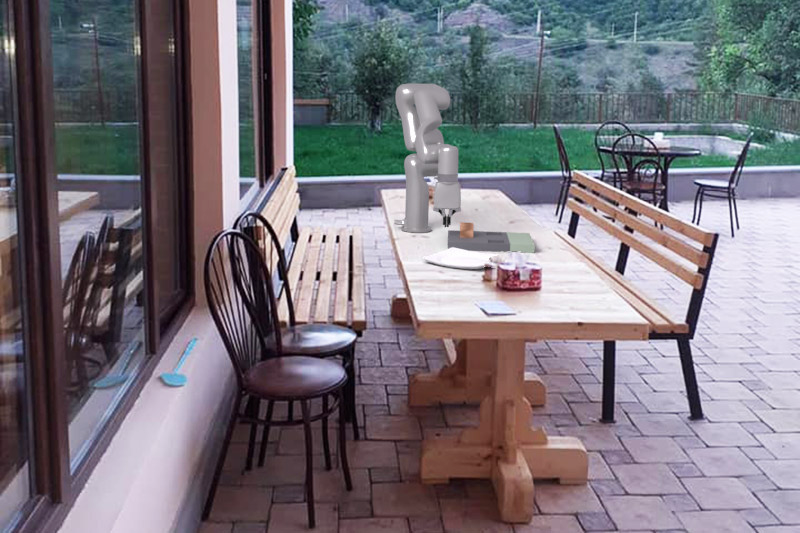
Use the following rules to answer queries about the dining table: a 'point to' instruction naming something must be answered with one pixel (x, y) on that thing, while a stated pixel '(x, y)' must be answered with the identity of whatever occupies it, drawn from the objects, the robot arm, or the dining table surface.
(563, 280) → the dining table surface
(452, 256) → the plate
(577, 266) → the dining table surface
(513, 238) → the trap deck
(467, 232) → the terracotta block
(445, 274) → the dining table surface
